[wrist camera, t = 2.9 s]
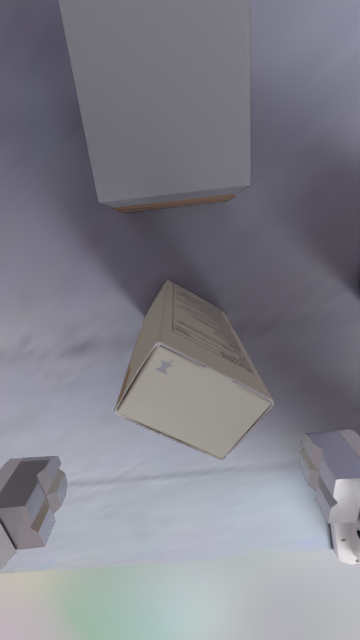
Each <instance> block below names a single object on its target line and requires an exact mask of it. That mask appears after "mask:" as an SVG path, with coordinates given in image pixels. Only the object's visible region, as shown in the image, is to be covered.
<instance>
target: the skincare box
mask: <svg viewBox="0 0 360 640" xmlns="http://www.w3.org/2000/svg"><path fill="white" fill-rule="evenodd" d="M273 406H274V401H273V398H272V397H271V395H270V393H269V391H268V390H267V388H266V386H265V384H264V382H263V381H262V379H261V377H260V375H259V374H258V372H257V370H256V368H255V367H254V365H253V363H252V361H251V359H250V357H249V356H248V354H247V352H246V350H245V348H244V347H243V345H242V343H241V341H240V340H239V338H238V336H237V334H236V332H235V331H234V329H233V327H232V325H231V323H230V322H229V320H228V318H227V316H226V314H225V313H224V312H223V311H222V310H220V309H219V308H217V307H216V306H214V305H212V304H211V303H209V302H207V301H206V300H204V299H202V298H200V297H199V296H197V295H195V294H193V293H192V292H190V291H188V290H186V289H184V288H183V287H181V286H179V285H177V284H175V283H173V282H171V281H169V280H166V282H165V283H164V285H163V286H162V288H161V290H160V291H159V293H158V294H157V296H156V298H155V300H154V301H153V303H152V305H151V306H150V308H149V310H148V312H147V314H146V316H145V318H144V321H143V324H142V327H141V330H140V333H139V336H138V339H137V342H136V345H135V348H134V351H133V354H132V357H131V360H130V363H129V366H128V369H127V372H126V375H125V378H124V382H123V385H122V388H121V391H120V394H119V397H118V400H117V404H116V407H115V410H114V412H115V414H117V415H118V416H121V417H123V418H125V419H127V420H129V421H131V422H133V423H135V424H137V425H140V426H142V427H144V428H146V429H148V430H150V431H153V432H155V433H157V434H160V435H162V436H164V437H167V438H169V439H171V440H174V441H176V442H178V443H181V444H183V445H186V446H188V447H190V448H193V449H195V450H198V451H200V452H203V453H205V454H208V455H211V456H213V457H215V458H218V459H220V460H223V459H224V458H225V457H226V456H227V455H228V454H229V453H230V452H231V451H232V450H233V449H234V448H235V447H236V446H237V445H238V444H239V443H240V442H241V440H242V439H243V438H244V437H245V436H246V435H247V434H248V433H249V432H250V431H251V430H252V429H253V428H254V427H255V426H256V424H257V423H258V422H259V421H260V420H261V419H262V418H263V417H264V416H265V415H266V414H267V413H268V412H269V410H270V409H271V408H272V407H273Z"/></svg>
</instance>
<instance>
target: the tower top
mask: <svg viewBox="0 0 360 640" xmlns="http://www.w3.org/2000/svg"><path fill="white" fill-rule="evenodd" d="M58 2H59V7H60V12H61V17H62V22H63V27H64V32H65V37H66V43H67V48H68V53H69V58H70V63H71V68H72V73H73V78H74V83H75V88H76V93H77V98H78V103H79V108H80V113H81V118H82V123H83V128H84V133H85V138H86V143H87V148H88V153H89V158H90V163H91V168H92V173H93V178H94V183H95V188H96V193H97V198H98V203H101V204H104V205H108V206H111V207H114V208H117V207H126V206H134V205H143V204H152V203H160V202H169V201H177V200H186V199H195V198H203V197H212V196H221V195H229V194H237V193H239V192H240V191H242V190H243V189H245V188H247V187H248V186H250V185H251V94H250V0H58Z"/></svg>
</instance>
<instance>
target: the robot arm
mask: <svg viewBox="0 0 360 640" xmlns="http://www.w3.org/2000/svg"><path fill="white" fill-rule="evenodd" d="M301 443H302V445H303V446H304V449H303V450H302V451H301V452H300V465H301V470H302V472H303V475H304V478H305V480H306V482H307V484H308V485H309V486H310V487H312V488H313V489H314V490H315V491H317V493H316V501H317V503H318V505H319V507H320V509H321V511H322V513H323V515H324V517H325V519H326V520H327V522H328V524H330V527H331V534H332V541H333V548H334V552H335V554H336V556H337V558H338V559H339V560H340V561H341V562H344V563H347V564H350V565H355V566H360V436H359V435H358V434H357V433H356V432H355V431H354V430H352V429H346V430H335V431H324V432H314V433H304V434H303V436H302V440H301ZM60 465H61V462H60V460H59V457H58V456H46V457H29V458H17V459H10V460H9V461H7V462H6V463H5V464H4V465H3V467H2V468H1V469H0V570H1V569H2V568H3V567H4V566H5V565H6V563H7V562H8V561H9V560H10V559H11V558H12V556H13V555H14V554H15V553H16V550H20V549H29V548H37V547H45V545H46V543H47V541H48V538H49V536H50V533H51V531H52V528H53V526H54V523H55V517H54V513H55V512H56V511H57V510H58V509H59V508H60V507H61V506H62V504H63V501H64V498H65V496H66V490H67V478H66V475H65V473H64V472H63V471H61V470H60V469H59V467H60Z"/></svg>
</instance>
